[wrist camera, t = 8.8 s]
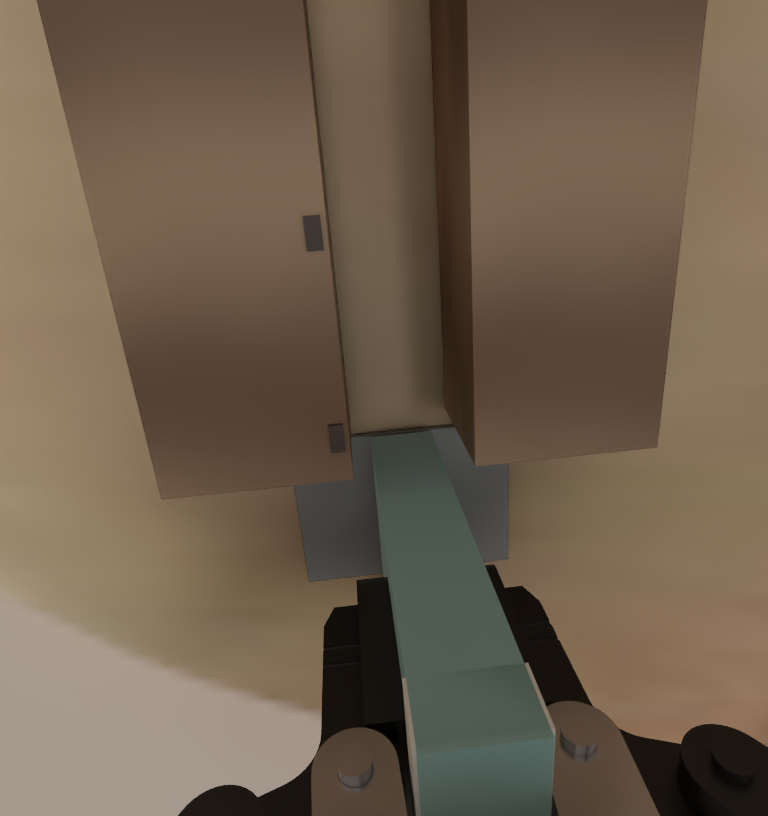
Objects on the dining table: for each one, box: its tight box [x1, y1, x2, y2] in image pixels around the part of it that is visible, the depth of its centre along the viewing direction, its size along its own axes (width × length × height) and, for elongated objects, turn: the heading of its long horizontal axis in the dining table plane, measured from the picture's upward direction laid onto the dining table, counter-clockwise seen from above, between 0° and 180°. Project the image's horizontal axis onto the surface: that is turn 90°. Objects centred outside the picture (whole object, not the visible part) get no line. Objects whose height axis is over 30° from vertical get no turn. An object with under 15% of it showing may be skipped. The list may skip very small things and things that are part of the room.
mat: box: [295, 424, 508, 582], centre depth 16 cm, size 4×6×1 cm
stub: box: [371, 431, 556, 816], centre depth 12 cm, size 5×2×9 cm, turn 5°
